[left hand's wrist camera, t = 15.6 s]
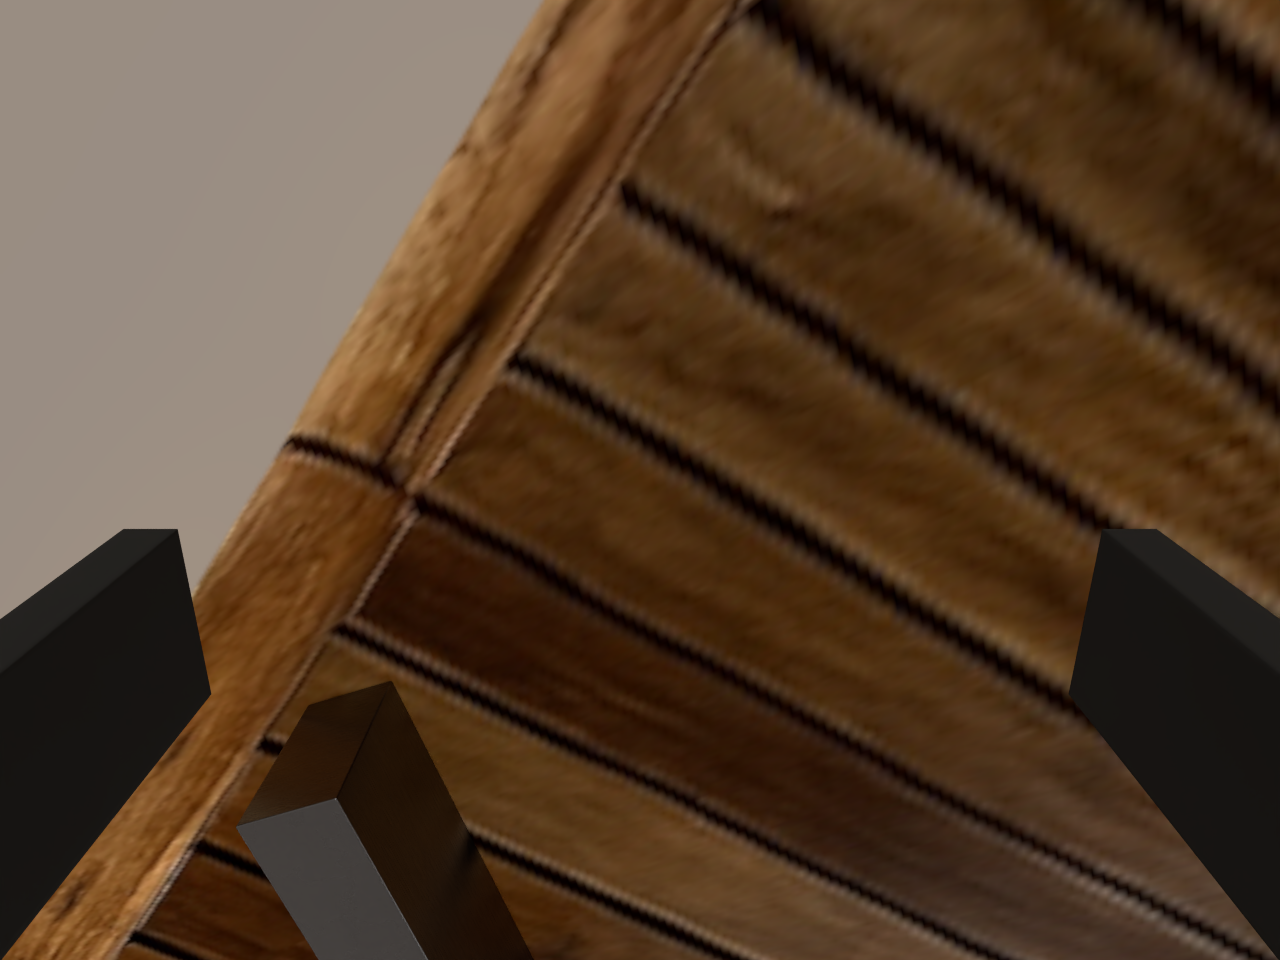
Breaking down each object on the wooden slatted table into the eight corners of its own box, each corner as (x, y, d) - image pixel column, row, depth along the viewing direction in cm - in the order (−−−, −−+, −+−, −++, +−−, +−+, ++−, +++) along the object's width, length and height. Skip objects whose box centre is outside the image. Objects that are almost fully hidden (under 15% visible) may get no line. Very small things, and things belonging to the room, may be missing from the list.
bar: (308, 704, 46) (234, 827, 38) (391, 680, 45) (336, 798, 37) (491, 1035, 55) (464, 1194, 46) (563, 1017, 54) (549, 1175, 46)
